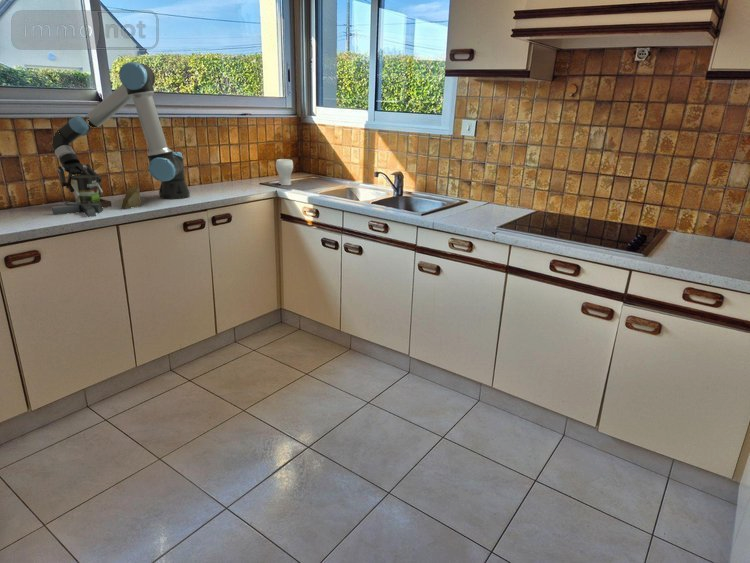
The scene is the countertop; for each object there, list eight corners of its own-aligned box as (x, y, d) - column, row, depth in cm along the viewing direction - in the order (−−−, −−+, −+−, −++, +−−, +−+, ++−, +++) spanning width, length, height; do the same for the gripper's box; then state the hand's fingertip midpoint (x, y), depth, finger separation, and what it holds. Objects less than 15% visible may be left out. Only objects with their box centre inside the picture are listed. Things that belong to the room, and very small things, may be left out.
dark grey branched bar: (92, 217, 214) (91, 209, 213) (49, 214, 216) (47, 206, 215) (108, 211, 225) (106, 204, 224) (66, 209, 226) (65, 201, 225)
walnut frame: (111, 206, 236) (110, 201, 235) (81, 210, 225) (80, 205, 224) (96, 202, 243) (95, 197, 242) (65, 206, 232) (64, 201, 232)
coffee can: (106, 205, 238) (101, 175, 233) (90, 209, 228) (85, 178, 224) (87, 203, 240) (82, 173, 235) (71, 207, 230) (65, 176, 225)
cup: (292, 186, 306) (291, 161, 301) (274, 185, 306) (274, 160, 301) (294, 183, 316) (294, 159, 311) (278, 182, 316) (277, 158, 311)
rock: (122, 205, 227) (145, 200, 233) (115, 189, 228) (137, 184, 233) (121, 216, 236) (142, 210, 241) (113, 200, 236) (135, 195, 242)
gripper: (90, 161, 245) (112, 197, 242) (39, 164, 227) (62, 203, 224) (94, 151, 240) (116, 187, 237) (42, 153, 222) (66, 193, 220)
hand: (90, 195), depth 231 cm, fingers closed on coffee can, 10 cm apart
